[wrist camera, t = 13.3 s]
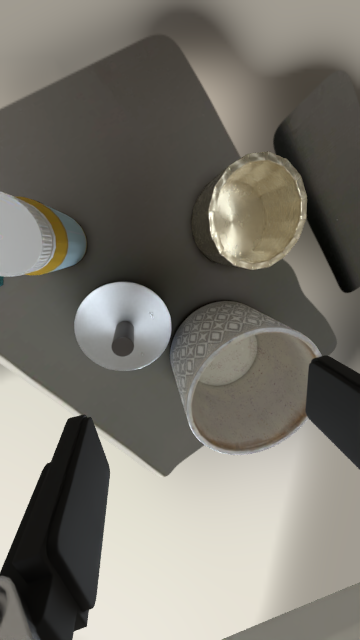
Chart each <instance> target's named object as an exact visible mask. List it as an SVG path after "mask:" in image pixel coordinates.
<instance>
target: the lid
mask: <svg viewBox="0 0 360 640" xmlns="http://www.w3.org/2000/svg"><path fill="white" fill-rule="evenodd" d="M74 330H75V336H76V340H77V342H78V344H79V346H80V348H81V349H82V351H83V352H84V353H85V355H86V356H88V357H89V358H90V359H91V360H92V361H94V362H95V363H97V364H98V365H100V366H103V367H105V368H108V369H112V370H117V371H129V370H135V369H139V368H142V367H144V366H146V365H148V364H150V363H152V362H153V361H154V360H156V359H157V358H158V357H159V356H160V355H161V354H162V353H163V351H164V350H165V348H166V347H167V345H168V343H169V340H170V337H171V331H172V323H171V317H170V313H169V311H168V308H167V307H166V305H165V303H164V302H163V300H162V299H161V298H160V297H159V296H158V295H157V294H156V293H155V292H153V291H152V290H151V289H149V288H147V287H145V286H143V285H140V284H137V283H133V282H121V281H120V282H112V283H108V284H105V285H103V286H100V287H99V288H97V289H95V290H94V291H92V292H91V293H90V294H89V295H88V296H87V297H86V298H85V299H84V300H83V301H82V303H81V304H80V306H79V308H78V310H77V313H76V316H75V321H74Z"/></svg>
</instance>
